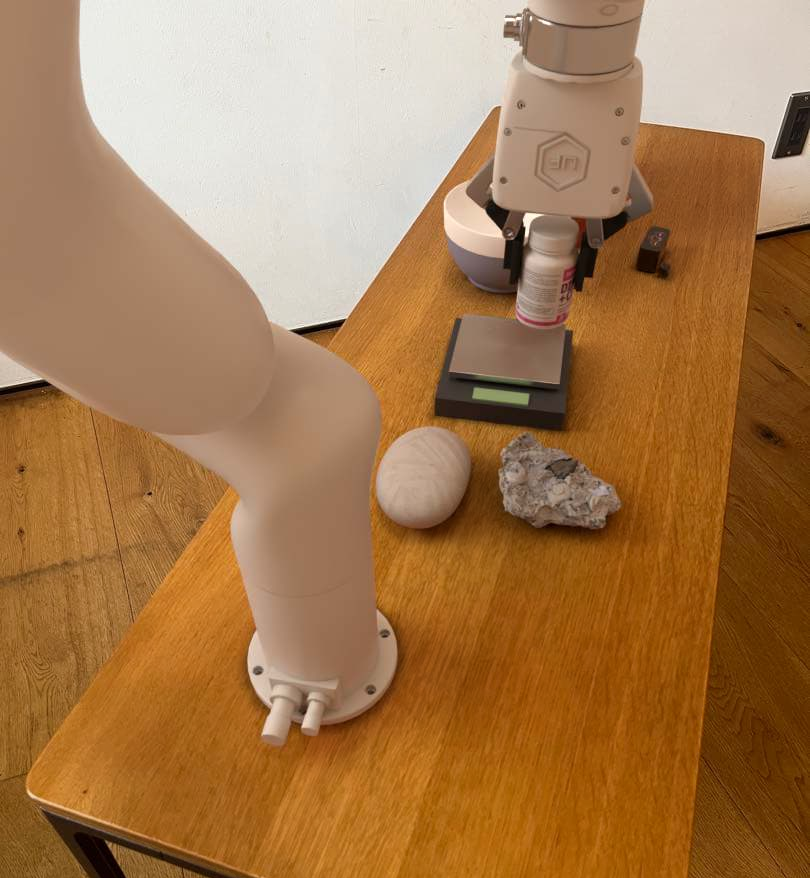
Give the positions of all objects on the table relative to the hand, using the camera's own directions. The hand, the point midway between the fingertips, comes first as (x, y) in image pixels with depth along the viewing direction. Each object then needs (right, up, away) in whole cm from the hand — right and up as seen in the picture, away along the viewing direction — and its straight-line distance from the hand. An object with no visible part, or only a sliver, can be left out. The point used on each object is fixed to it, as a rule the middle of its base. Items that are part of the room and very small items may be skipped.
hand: (547, 277), depth 67 cm
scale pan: (0, -1, +22) cm, 22 cm away
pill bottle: (0, -3, +3) cm, 4 cm away
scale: (-1, -4, +24) cm, 24 cm away
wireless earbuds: (+21, +15, +39) cm, 47 cm away
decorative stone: (-10, -18, +12) cm, 24 cm away
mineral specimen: (+3, -19, +11) cm, 22 cm away
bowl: (+1, +13, +38) cm, 40 cm away
